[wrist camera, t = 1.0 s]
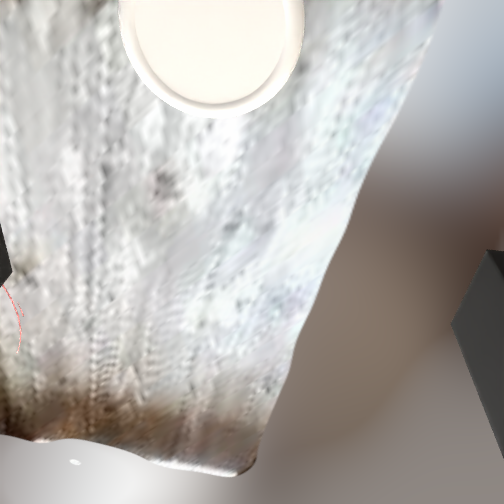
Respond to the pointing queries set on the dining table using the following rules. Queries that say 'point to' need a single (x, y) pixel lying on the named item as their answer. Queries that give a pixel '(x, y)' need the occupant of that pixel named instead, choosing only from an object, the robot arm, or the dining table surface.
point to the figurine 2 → (15, 310)
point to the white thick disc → (213, 50)
